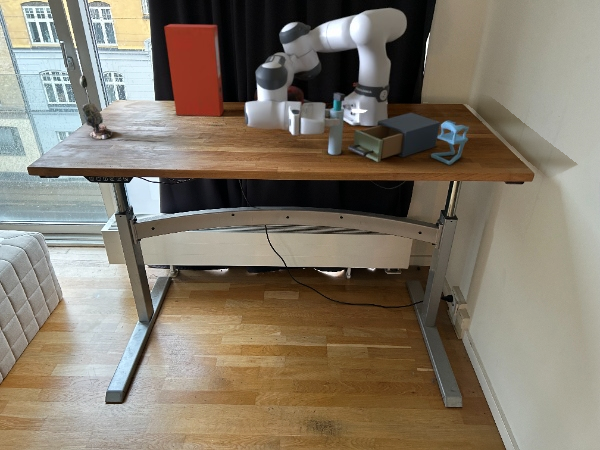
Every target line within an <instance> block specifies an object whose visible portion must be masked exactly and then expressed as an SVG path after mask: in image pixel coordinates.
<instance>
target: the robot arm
mask: <svg viewBox="0 0 600 450" xmlns="http://www.w3.org/2000/svg"><path fill="white" fill-rule="evenodd" d="M407 23H408V22H407V17H406V15H405V13H404V12H403V11H401V10H400V9H397V8H392V7H388V8H387V7H386V8H379V9H370V10H365V11H363V12H361V13H359V14H354V15H350V16H345V17H342V18H338V19H333V20H329V21H326V22H325V23H322V24H320V25H318V26H316V27H315V28H314V29H312V30H311V26H310V25H309V24H305V23H303V22H300V21H295V22H290V23H287V24H286V25H284V27H282V29H280V32H279V34H278V35H279V41H280V44H282V47H283V51H284V52H276V53H274V54H273V55H269V56H268V58H267V59H266V60H265V62H264V63H261V64H260V65H259V66H258V67H257V69H255V81H256V88H257V89H256V90H257V92H258V100H257V101H255V100H252V101H246V102H245V103H244V105H243V107H244V108H243V109H244V121H245V124H246V126H247V127H248V128H252V129H258V130H269V131H272V130H283V131H289V133H291V135H292V136H299V135H300V134H301V135H321V134H324V133H325V127H326V128H327V127H329V128H330V126H333V125H340V119H339V118H334V119H330V110H331V108H329V107H330V106H334V101H333V102H329V103H327V105H326V103H325V102H321V101H320V102H319V101H318V102H315V101H311V100H308V99H305V98H304V104H303V105H302V103H301V102H291V101H287V89H288V88H289V87H290V86H292V84H293V82H294V79H297V80H300V81H310V80H313V79H314V78H316V77H317V76H318V75H319V74H320V73H321V71H322V63H321V60H320V59H319V56H318V53H326V54H327V53H328V54H329V53H338V52H343V51H348V50H354V49H357V51H358V57H359V71H358V81H357V82H354V83H352V84H353V85H352V87H355V88H354V90H353V91H352V92H351V93H349V94H348V95H346V96H345V99H344V101H342V105H341V108H342V109H344V119H343V122H344V121H345V122H346V123H348V124H349V125H351V126H366V127H375V126H377V124H378V121H381V120H385V119H389V116H388V115H389V114H388V95H389V92H390V83H389V81H390V74H391V65H392V63H391V60H390V59H389V57H388V55H387V50H386V44H387V43H392V42H393V41H395V40H397V39H398V38H400V37H402V35H404V33H405V31H406V29H407V26H408V25H407ZM317 52H318V53H317Z"/></svg>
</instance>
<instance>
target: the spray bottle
mask: <svg viewBox="0 0 600 450" xmlns="http://www.w3.org/2000/svg"><path fill="white" fill-rule="evenodd" d="M345 97H346V94H344V93H341V92H334V93H333V102H334V105H333V107H332V108H330V116H329V119H334V118H339V119H340V125H333V126H329V130H328V147H327V148H328V149H327V152H328V154H329V155H333V156H339V155H341V154H342V146H343V132H344V131H343V130H344V120H343V119H344V109H342V108H341V105H342V101H344V99H345Z"/></svg>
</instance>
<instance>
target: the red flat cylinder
mask: <svg viewBox="0 0 600 450" xmlns="http://www.w3.org/2000/svg"><path fill="white" fill-rule="evenodd" d="M304 99H305V96H304V92H303V90H302V89H301V88H300V87H297V86H295V85H294V86H293V85H290V87H289V88H288V89H287V101H291V102H301V103H302V105H303V104H304V103H305V102H304ZM257 100H258V92H257V89H256V90H255V92H254V101H257Z"/></svg>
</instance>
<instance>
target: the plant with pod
mask: <svg viewBox="0 0 600 450" xmlns="http://www.w3.org/2000/svg"><path fill="white" fill-rule="evenodd" d="M79 84H80V86H81V88H83V89H84V92H85V95H86V97H87V100H88V103H85V104H83V105H79V106H81V111H82V116H83V118H84V121H85V123H86V126H89V127H92V128H93V129H92V132H90V133H89V134H88V136H89V137H90V138H91V139H93V140H105V139H108V138H110V137H111V136H112V135H113V132H112V129H110V128H108V127H107V126H106V125H105V124H103V122H104V119H103V115H102V113H101V112H100V110H99V109H98V107H97V106H96V105H95V104H94V103H91V101H90V98H89V97H90V96H89V95H88V92H87V87H88V81H87V78H86V76H85V75H83V74H82V75H81V76H80V78H79ZM101 124H102V125H101ZM100 125H101V126H100Z"/></svg>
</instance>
